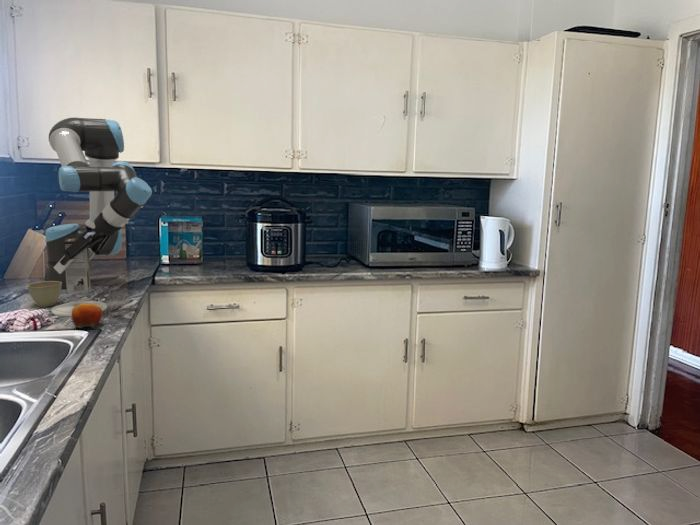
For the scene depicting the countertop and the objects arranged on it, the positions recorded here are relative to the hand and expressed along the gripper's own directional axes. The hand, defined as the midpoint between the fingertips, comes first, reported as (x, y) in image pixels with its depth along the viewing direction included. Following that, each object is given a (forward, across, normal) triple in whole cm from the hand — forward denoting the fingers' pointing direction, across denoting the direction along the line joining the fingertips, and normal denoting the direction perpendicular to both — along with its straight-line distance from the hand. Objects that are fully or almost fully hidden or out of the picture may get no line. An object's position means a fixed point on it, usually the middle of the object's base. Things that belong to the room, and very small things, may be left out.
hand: (68, 267), depth 173 cm
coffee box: (+3, 0, -7) cm, 8 cm away
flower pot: (+18, +4, -1) cm, 19 cm away
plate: (+8, 0, -12) cm, 14 cm away
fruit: (-1, -16, -21) cm, 26 cm away
